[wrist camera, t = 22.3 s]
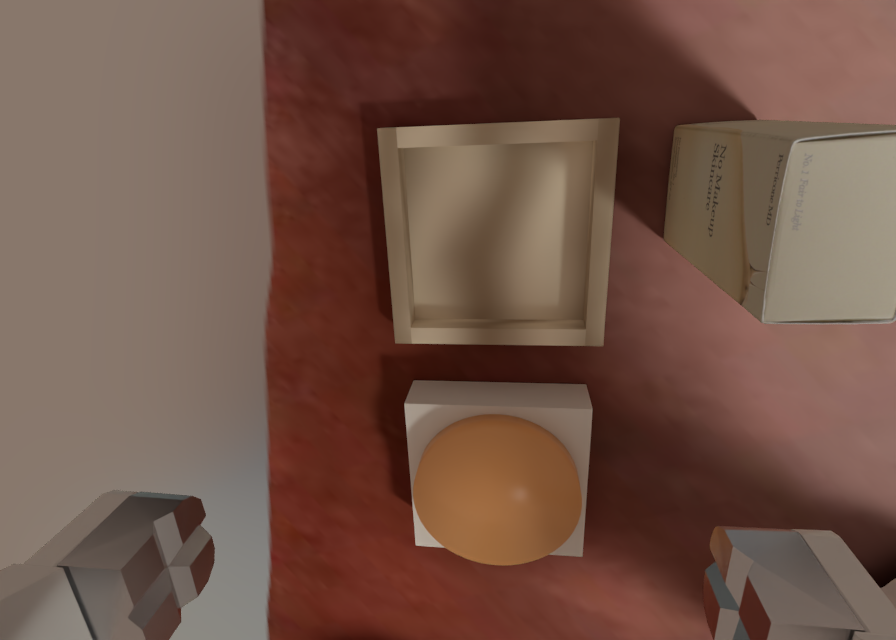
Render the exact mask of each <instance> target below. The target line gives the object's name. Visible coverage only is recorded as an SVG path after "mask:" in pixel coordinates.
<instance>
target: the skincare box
mask: <svg viewBox="0 0 896 640" xmlns="http://www.w3.org/2000/svg"><path fill="white" fill-rule="evenodd" d="M664 241H665V242H666V243H667V244H669V245H670V246H671V247H672V248H673V249H675V250H676V251H677V252H678V253H679V254H681V255H682V256H683V257H684V258H685V259H687V260H688V261H689V262H690V263H691V264H693V265H694V266H695V267H696V268H697V269H698V270H700V271H701V272H702V273H703V274H704V275H706V276H707V277H708V278H709V279H710V280H712V281H713V282H714V283H715V284H716V285H717V286H719V287H720V288H721V289H722V290H723V291H725V292H726V293H727V294H728V295H729V296H731V297H732V298H733V299H734V300H735V301H737V302H738V303H739V304H740V305H742V306H743V307H744V308H745V309H746V310H747V311H748V312H750V313H751V314H752V315H753V316H754V317H755V318H757V319H758V320H759V321H760V322H761V323H764V324H886V323H892V322H894V321H895V320H896V125H880V124H856V123H830V122H803V121H780V120H743V121H724V122H708V123H696V124H686V125H677V126H676V127H675V129H674V137H673V146H672V154H671V164H670V173H669V183H668V194H667V204H666V216H665V227H664Z"/></svg>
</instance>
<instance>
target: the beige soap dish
mask: <svg viewBox="0 0 896 640" xmlns="http://www.w3.org/2000/svg"><path fill="white" fill-rule="evenodd" d="M619 126H620V118H600V119H576V120H553V121H530V122H507V123H484V124H461V125H438V126H415V127H391V128H377V134H378V146H379V158H380V170H381V181H382V193H383V205H384V217H385V229H386V240H387V252H388V264H389V276H390V288H391V299H392V311H393V323H394V335H395V343H405V344H477V345H549V346H603V342H604V328H605V315H606V301H607V288H608V274H609V261H610V247H611V234H612V220H613V207H614V193H615V180H616V166H617V153H618V139H619Z"/></svg>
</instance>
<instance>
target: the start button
mask: <svg viewBox="0 0 896 640" xmlns="http://www.w3.org/2000/svg"><path fill="white" fill-rule="evenodd" d="M413 499H414V505H415V508H416V511H417V514H418V516H419V518H420V521H421V522H422V524H423V525H424V527H425V528H426V530H427V531H428V532H429V533H430V535H431V536H432V537H433V538H434V539H435V540H436V541H438V542H439V543H440V544H441V545H442V546H444V547H445V548H447V549H448V550H450V551H452V552H453V553H455V554H457V555H459V556H461V557H464V558H466V559H469V560H472V561H475V562H479V563H484V564H490V565H518V564H523V563H528V562H531V561H535V560H538V559H540V558H542V557H545V556H547V555H548V554H550V553H552V552H554V551H555V550H556V549H558V548H559V547H560V546H562V545H563V544H564V543H565V542H566V541H567V540H568V538H569V537H570V536H571V534H572V533H573V532H574V530H575V528H576V526H577V524H578V521H579V518H580V515H581V509H582V495H581V489H580V483H579V477H578V472H577V468H576V465H575V463H574V460H573V458H572V457H571V455H570V453H569V451H568V450H567V449H566V447H565V446H564V445H563V444H562V443H561V442H560V441H559V440H558V439H557V438H556V437H555V436H554V435H553V434H551V433H550V432H549V431H547V430H546V429H544V428H543V427H541V426H539V425H537V424H535V423H533V422H531V421H528V420H525V419H522V418H519V417H514V416H509V415H501V414H484V415H477V416H472V417H468V418H465V419H462V420H459V421H457V422H454V423H453V424H451V425H449V426H447V427H446V428H444V429H443V430H442V431H440V432H439V433H438V434H437V435H436V436H435V437H434V438H433V439H432V440H431V441H430V442H429V444H428V445H427V446H426V448H425V450H424V452H423V454H422V456H421V459H420V462H419V466H418V469H417V473H416V476H415V480H414V486H413Z"/></svg>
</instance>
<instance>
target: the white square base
mask: <svg viewBox="0 0 896 640" xmlns="http://www.w3.org/2000/svg"><path fill="white" fill-rule="evenodd" d="M404 407H405V419H406V432H407V444H408V456H409V468H410V481H411V493H412V505H413V517H414V530H415V542H416V546H428V547H443V548H445V547H444V546H442V545H441V544H440V543H439V542H438V541H436V540H435V539H434V538H433V537H432V536H431V535H430V533H429V532H428V531H427V530H426V528H425V527H424V525H423V524H422V522H421V521H420V518H419V516H418V514H417V511H416V508H415V505H414V499H413V486H414V480H415V476H416V473H417V469H418V466H419V462H420V459H421V456H422V454H423V452H424V450H425V448H426V446H427V445H428V444H429V442H430V441H431V440H432V439H433V438H434V437H435V436H436V435H437V434H438V433H439V432H440V431H442V430H443V429H444V428H446V427H447V426H449V425H451V424H453V423H454V422H457V421H459V420H462V419H465V418H468V417H472V416H477V415H484V414H501V415H509V416H514V417H519V418H522V419H525V420H528V421H531V422H533V423H535V424H537V425H539V426H541V427H543V428H544V429H546V430H547V431H549V432H550V433H551V434H553V435H554V436H555V437H556V438H557V439H558V440H559V441H560V442H561V443H562V444H563V445H564V446H565V447H566V449H567V450H568V451H569V453H570V455H571V457H572V458H573V460H574V463H575V465H576V468H577V472H578V477H579V483H580V489H581V495H582V509H581V515H580V518H579V521H578V524H577V526H576V528H575V530H574V532H573V533H572V534H571V536H570V537H569V538H568V540H567V541H566V542H565V543H564V544H563V545H562V546H560V547H559V548H558V549H556V550H555V551H554V552H552V553H550V554H548V555H563V556H577V557H583V542H584V528H585V513H586V499H587V484H588V470H589V456H590V441H591V427H592V412H593V408H592V405H591V401H590V397H589V393H588V389H587V385H586V384H555V383H512V382H469V381H427V380H413V383H412V385H411V388H410V390H409V393H408V395H407V398H406V400H405V403H404Z"/></svg>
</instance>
